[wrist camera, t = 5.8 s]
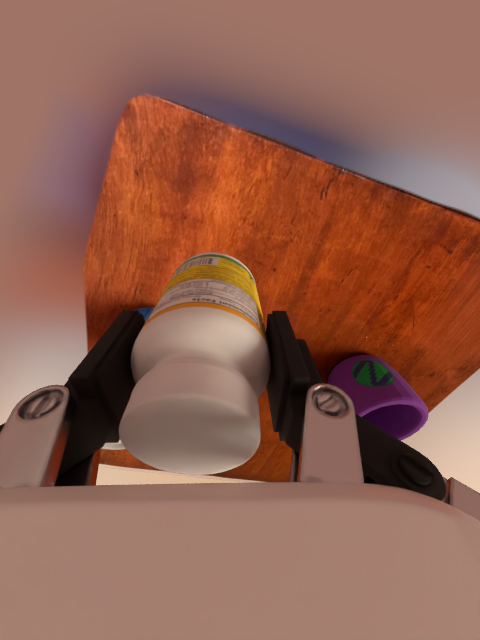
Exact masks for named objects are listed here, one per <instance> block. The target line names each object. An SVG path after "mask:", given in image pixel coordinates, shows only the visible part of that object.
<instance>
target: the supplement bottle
mask: <svg viewBox="0 0 480 640" xmlns="http://www.w3.org/2000/svg"><path fill="white" fill-rule="evenodd" d="M131 370H132V375H133V378H134V381H135V383H136V385H135V387H134V389H133V391H132V393H131V397H130V400H129V402H128V405H127V407H126V409H125V412H124V414H123V416H122V419H121V421H120V425H119V437H120V440H121V442H122V444H123V446H124V447H125V448H126V449H127V451H128V452H129V453H130V454H131V455H133V456H134V457H135V458H137V459H138V460H140V461H142V462H144V463H145V464H148V465H150V466H152V467H155V468H157V469H160V470H164V471H168V472H173V473H179V474H190V475H204V474H215V473H219V472H224V471H227V470H230V469H233V468H235V467H237V466H239V465H241V464H243V463H245V462H246V461H247V460H249V459H250V458H251V457H252V456H253V455H254V454H255V452H256V451H257V449H258V446H259V443H260V418H259V404H258V400H257V399H258V398H259V397H260V396H261V394H262V393H263V391H264V390H265V388H266V386H267V383H268V381H269V377H270V372H271V359H270V351H269V346H268V340H267V336H266V332H265V327H264V322H263V316H262V312H261V307H260V302H259V297H258V292H257V289H256V284H255V281H254V278H253V276H252V274H251V272H250V271H249V270H248V268H247V267H246V266H245V265H244V264H243V263H241V262H240V261H239V260H237V259H235V258H233V257H231V256H229V255H226V254H222V253H215V252H209V253H202V254H198V255H195V256H193V257H191V258H189V259H187V260H186V261H185V262H183V263H182V264H181V265H180V266H179V267H178V269H177V270H176V272H175V273H174V274H173V276H172V278H171V280H170V282H169V283H168V285H167V287H166V289H165V290H164V292H163V294H162V296H161V297H160V299H159V301H158V302H157V304H156V306H155V308H154V309H153V311H152V313H151V314H150V316H149V318H148V319H147V321H146V323H145V324H144V326H143V328H142V330H141V331H140V333H139V335H138V337H137V338H136V341H135V343H134V346H133V349H132V354H131Z"/></svg>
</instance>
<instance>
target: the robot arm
mask: <svg viewBox="0 0 480 640" xmlns="http://www.w3.org/2000/svg"><path fill="white" fill-rule="evenodd" d="M144 324H145V319H144V316H143V314H140V313H139V311H137V310H123V311H122V312H121V314H120V315H119V316H118V317H117V319H116V320H115V321H114V322H113V324H112V325H111V326H110V327H109V328H108V330H107V331H106V332H105V333H104V335H103V336H102V337H101V338H100V340H99V341H98V342H97V343H96V345H95V346H94V347H93V348H92V350H91V351H90V352H89V353H88V354H87V356H86V357H85V358H84V359H83V361H82V362H81V363H80V365H79V366H78V367H77V368H76V370H75V371H74V372H73V373H72V374H71V376H70V377H69V380H68V381H67V383H66V384H65V385H64V386H63V385H51V386H47V387H43V388H40V389H38V390H36V391H34V392H32V393H30V394H29V395H27V396H26V397H24V398H23V399H22V400H21V401H20V402H19V403H18V404H17V405H16V406H15V408H14V409H13V411H12V412H11V414H10V416H9V418H8V420H7V422H6V423H4V424H2V425H0V640H480V493H478V492H476V491H475V490H473V489H471V488H469V487H467V486H466V485H464V484H462V483H461V482H459V481H457V480H455V479H454V478H452V477H451V478H450V479H448V480H447V479H446V478H444V477H442V475H441V473H440V472H439V471H438V469H437V468H436V466H435V465H434V464H432V462H431V461H430V460H429V459H428V458H426V457H425V456H423V455H422V454H421V453H420V452H418V451H416V450H415V449H413V448H411V447H410V446H408V445H407V444H405V443H403V442H401V441H400V440H398V439H397V438H395V437H393V436H392V435H390V434H389V433H387V432H385V431H384V430H382V429H380V428H379V427H377V426H375V425H374V424H372V423H370V422H369V421H367V420H366V419H364V418H362V417H361V416H359V415H357V414H356V413H355V411H354V405H353V402H352V400H351V399H350V397H349V396H348V395H347V394H346V393H345V392H344V391H343V390H341V389H340V388H338V387H336V386H333V385H330V384H324V383H323V382H322V379H321V377H320V375H319V372H318V370H317V368H316V365H315V363H314V361H313V358H312V356H311V354H310V351H309V349H308V347H307V344H306V342H305V340H303V339H296V337H295V335H294V332H293V330H292V327H291V324H290V322H289V319H288V316H287V314H286V311H273V312H272V314H268V317H267V328H266V336H267V340H268V346H269V351H270V359H271V372H270V377H269V381H268V383H267V391H268V398H269V404H270V411H271V417H272V424H273V430H274V432H279V437H280V441H285V442H286V444H287V445H288V446H289V447H291V448H292V458H291V467H290V476H289V482H272V483H204V484H203V483H201V484H152V485H151V484H150V485H149V484H146V485H98V486H97V485H96V479H97V472H98V465H99V458H100V452H101V450H100V448H102V447H103V446H104V444H105V443H118V442H119V440H120V437H119V425H120V421H121V419H122V416H123V414H124V412H125V409H126V407H127V405H128V402H129V400H130V397H131V393H132V391H133V389H134V387H135V385H136V383H135V381H134V378H133V375H132V370H131V354H132V349H133V346H134V343H135V341H136V338H137V337H138V335H139V333H140V331H141V330H142V328H143V326H144Z"/></svg>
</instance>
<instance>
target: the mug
mask: <svg viewBox="0 0 480 640" xmlns="http://www.w3.org/2000/svg"><path fill="white" fill-rule="evenodd" d="M328 384H330V385H333V386H336V387H338V388H340V389H341V390H343V391H344V392H345V393H346V394H347V395H348V396H349V397H350V399H351V400H352V402H353V405H354V411H355V413H356V414H357V415H359V416H361V417H362V418H364V419H366V420H367V421H369V422H370V423H372V424H374V425H375V426H377V427H379V428H380V429H382V430H384V431H385V432H387V433H389V434H390V435H392V436H393V437H395V438H397V439H398V440H400V441H401V440H403V439H405V438H407V437H409V436H411V435H413V434H414V433H416V432H417V431H418V430H419V429H420V428H421V427H423V425H424V424H425V423H426V421H427V419H428V410H427V407H426V405H425V403H424V402H423V401H422V400H421V399H420V398H419V396H418V395H417V394H416V393H415V391H414V390H413V389H412V388H411V387H410V386H409V385H408V384H407V382H406V381H405V380H404V379H403V378H402V377H401V376H400V375H399V374H398V373H397V372H396V371H395V370H394V369H393V368H392V367H391V366H390V365H389V364H388V363H386V362H385V361H384V360H383V359H381V358H378V357H376V356H374V355H357V356H353V357H350V358H347V359H345V360H343V361H342V362H340V363H339V364H337V365H336V366H335V367H334V368H333V369H332V371H331V373H330V374H329V377H328Z"/></svg>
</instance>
